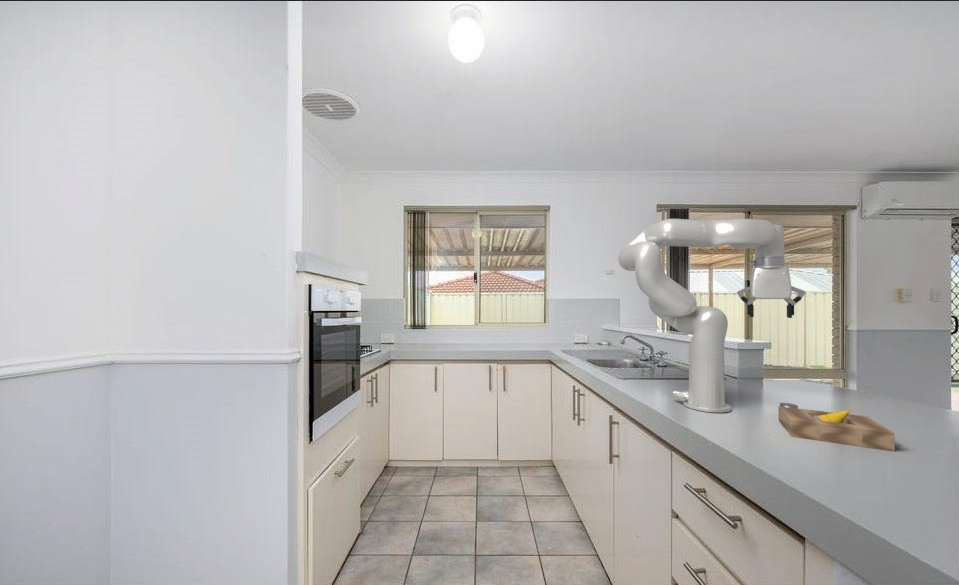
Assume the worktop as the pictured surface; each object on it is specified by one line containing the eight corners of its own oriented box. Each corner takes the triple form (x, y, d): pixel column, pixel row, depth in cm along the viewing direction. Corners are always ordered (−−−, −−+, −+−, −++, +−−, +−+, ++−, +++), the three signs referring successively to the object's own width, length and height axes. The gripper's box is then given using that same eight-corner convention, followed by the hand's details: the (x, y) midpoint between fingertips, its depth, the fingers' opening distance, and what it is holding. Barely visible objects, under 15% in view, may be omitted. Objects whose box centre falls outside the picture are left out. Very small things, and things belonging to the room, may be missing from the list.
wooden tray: (791, 436, 91) (790, 420, 91) (778, 420, 104) (778, 406, 104) (894, 451, 83) (894, 433, 83) (867, 432, 95) (867, 416, 95)
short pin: (781, 419, 105) (781, 405, 105) (778, 415, 108) (778, 402, 108) (799, 421, 103) (799, 407, 103) (796, 418, 106) (795, 404, 106)
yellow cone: (810, 430, 97) (848, 408, 94) (826, 446, 93) (866, 423, 89) (798, 419, 96) (835, 396, 93) (813, 434, 92) (853, 411, 88)
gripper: (738, 264, 120) (738, 317, 120) (808, 261, 111) (808, 318, 111) (735, 266, 126) (736, 316, 126) (801, 264, 118) (802, 317, 118)
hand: (770, 317), depth 119 cm, fingers open, 9 cm apart
